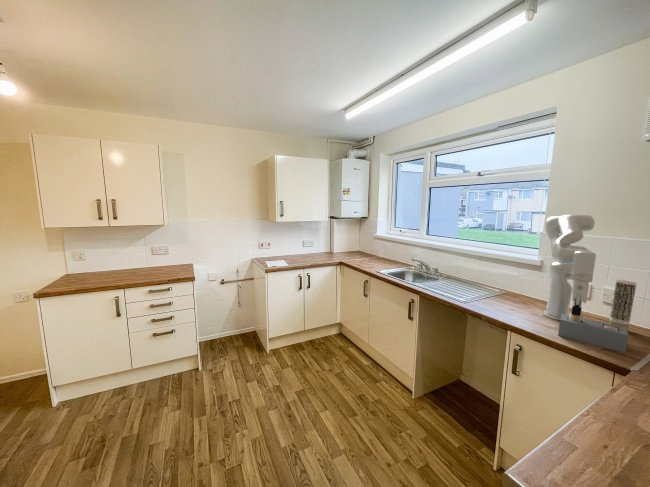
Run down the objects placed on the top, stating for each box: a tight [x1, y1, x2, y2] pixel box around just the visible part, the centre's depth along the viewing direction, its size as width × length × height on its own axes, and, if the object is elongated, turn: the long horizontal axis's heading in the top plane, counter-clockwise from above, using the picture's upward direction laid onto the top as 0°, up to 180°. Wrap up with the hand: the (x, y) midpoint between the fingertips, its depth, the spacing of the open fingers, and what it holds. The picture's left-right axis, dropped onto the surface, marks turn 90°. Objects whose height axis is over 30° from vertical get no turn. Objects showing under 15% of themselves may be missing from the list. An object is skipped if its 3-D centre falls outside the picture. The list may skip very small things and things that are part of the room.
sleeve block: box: [557, 314, 629, 354], centre depth 127 cm, size 22×11×8 cm, turn 46°
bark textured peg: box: [608, 279, 637, 332], centre depth 138 cm, size 7×7×25 cm
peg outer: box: [604, 326, 618, 331], centre depth 123 cm, size 4×4×7 cm
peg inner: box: [568, 312, 583, 322], centre depth 131 cm, size 4×4×7 cm
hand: (575, 314), depth 130 cm, fingers closed
